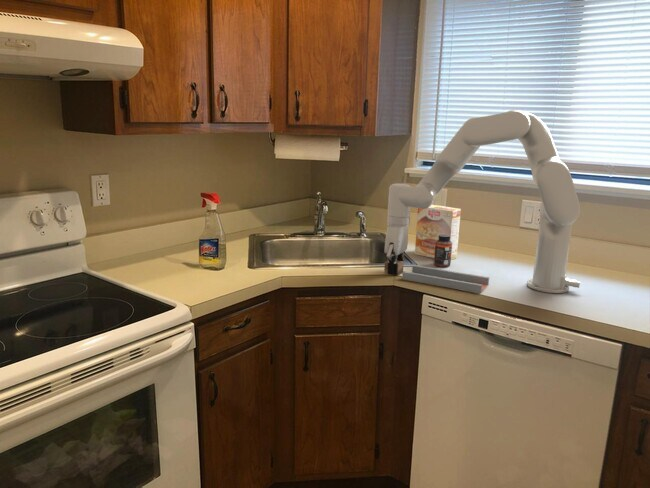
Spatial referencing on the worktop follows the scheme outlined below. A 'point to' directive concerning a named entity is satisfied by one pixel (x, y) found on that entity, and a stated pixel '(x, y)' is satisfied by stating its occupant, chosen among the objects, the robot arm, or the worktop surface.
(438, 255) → the supplement bottle
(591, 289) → the worktop surface
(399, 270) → the walnut block
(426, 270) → the channel
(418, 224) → the coffeecake box
